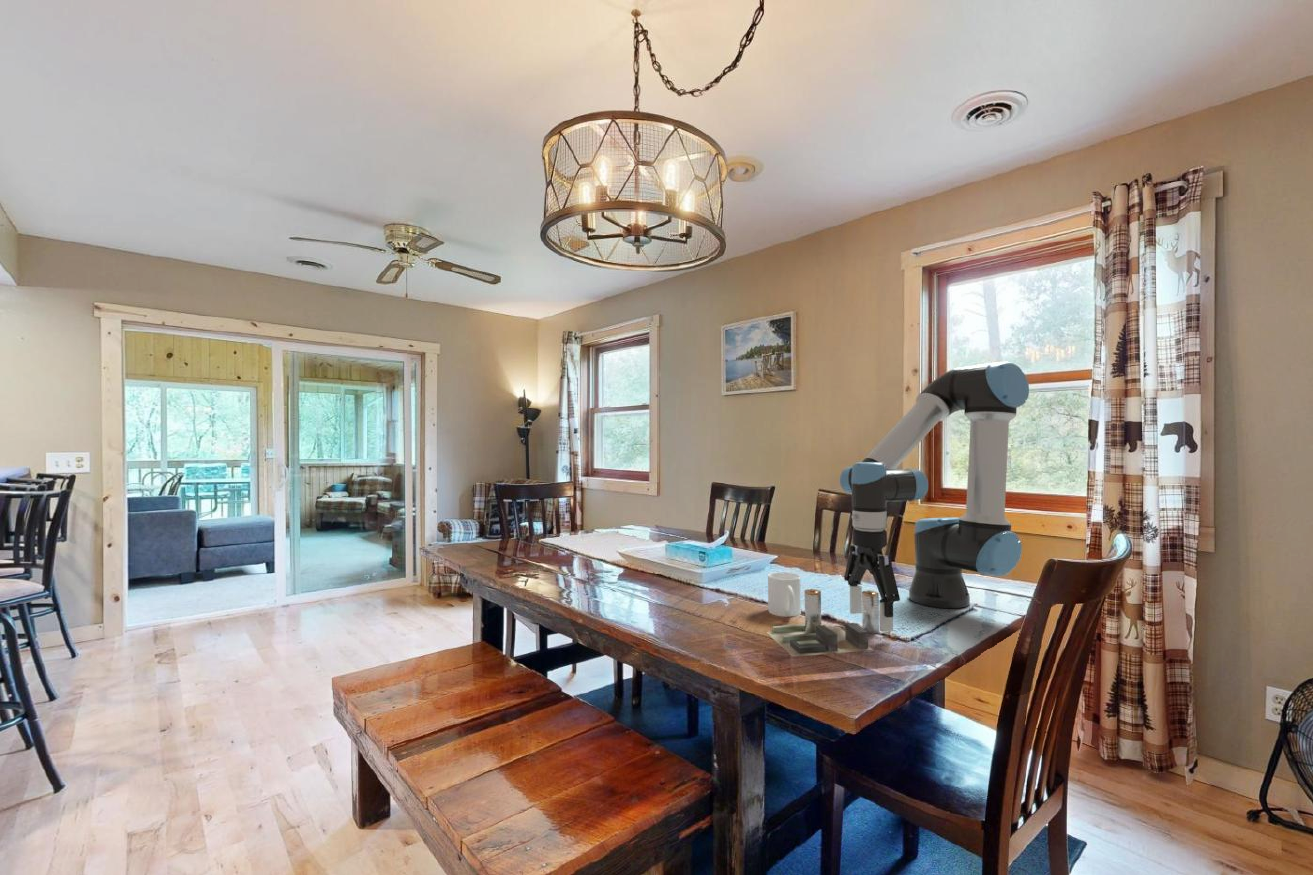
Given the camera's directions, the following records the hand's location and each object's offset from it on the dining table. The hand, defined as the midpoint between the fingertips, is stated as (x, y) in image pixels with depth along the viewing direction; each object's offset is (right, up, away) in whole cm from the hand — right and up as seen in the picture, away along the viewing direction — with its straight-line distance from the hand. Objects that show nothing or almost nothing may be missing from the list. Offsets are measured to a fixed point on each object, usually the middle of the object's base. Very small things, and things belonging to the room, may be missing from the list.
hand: (870, 621), depth 131 cm
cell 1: (-14, -2, -2) cm, 14 cm away
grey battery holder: (-14, -3, -6) cm, 16 cm away
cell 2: (0, -3, 0) cm, 3 cm away
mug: (-16, -4, +13) cm, 21 cm away
